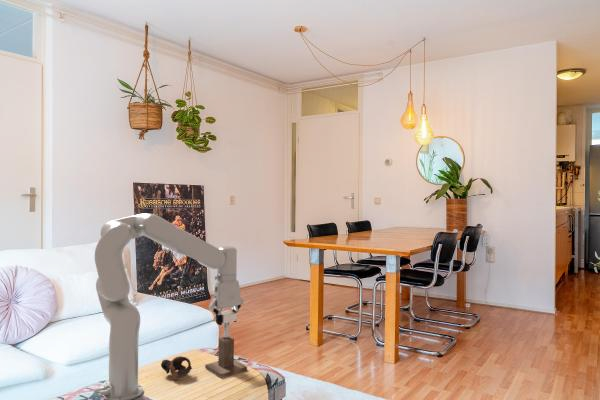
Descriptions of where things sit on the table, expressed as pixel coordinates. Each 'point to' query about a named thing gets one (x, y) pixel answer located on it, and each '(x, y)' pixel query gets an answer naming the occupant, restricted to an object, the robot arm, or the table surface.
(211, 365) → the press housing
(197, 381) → the table surface
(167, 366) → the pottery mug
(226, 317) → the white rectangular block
